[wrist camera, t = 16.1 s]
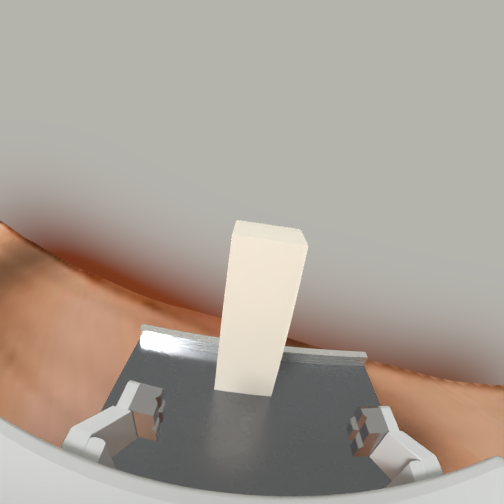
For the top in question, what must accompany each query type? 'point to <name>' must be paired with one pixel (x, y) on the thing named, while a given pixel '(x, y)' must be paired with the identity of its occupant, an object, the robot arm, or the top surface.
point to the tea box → (258, 305)
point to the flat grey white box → (250, 421)
